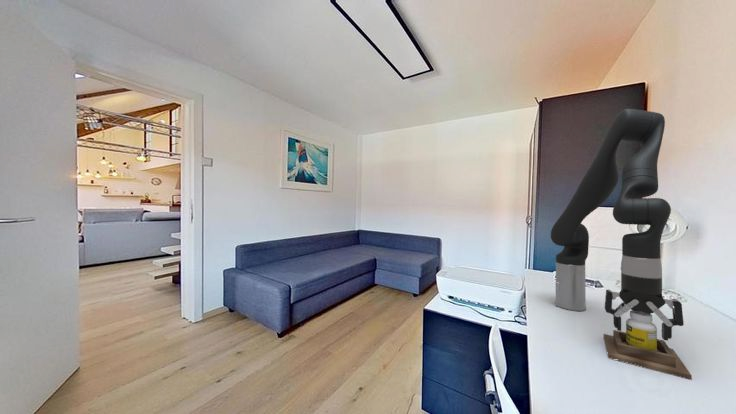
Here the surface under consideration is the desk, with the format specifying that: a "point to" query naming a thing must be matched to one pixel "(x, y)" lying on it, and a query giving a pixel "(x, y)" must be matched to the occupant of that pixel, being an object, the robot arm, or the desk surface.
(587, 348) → the desk surface
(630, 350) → the cup holder
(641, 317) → the supplement bottle
